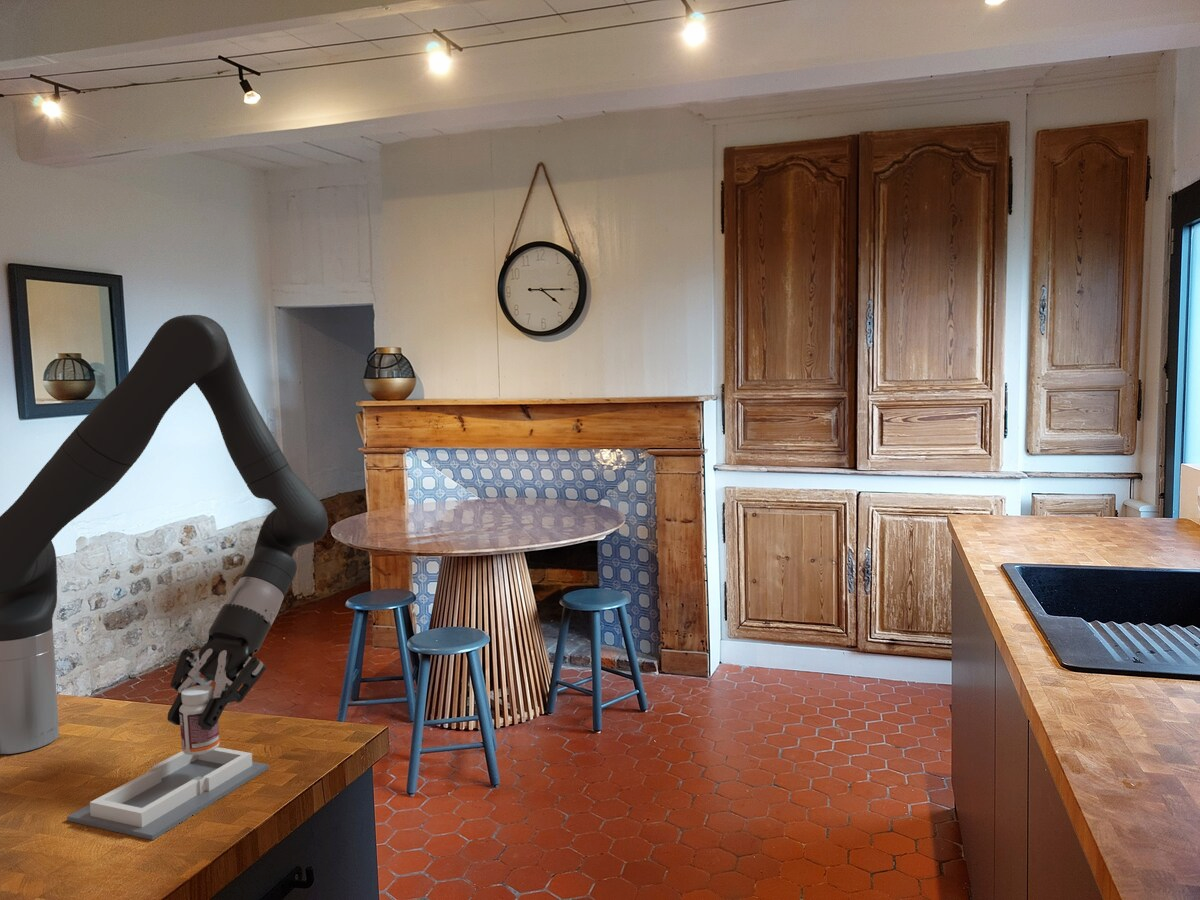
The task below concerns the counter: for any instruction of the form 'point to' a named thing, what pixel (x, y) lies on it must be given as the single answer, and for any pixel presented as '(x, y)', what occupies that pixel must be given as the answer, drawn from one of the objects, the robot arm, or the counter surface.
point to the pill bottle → (196, 721)
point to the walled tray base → (169, 792)
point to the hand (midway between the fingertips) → (188, 724)
